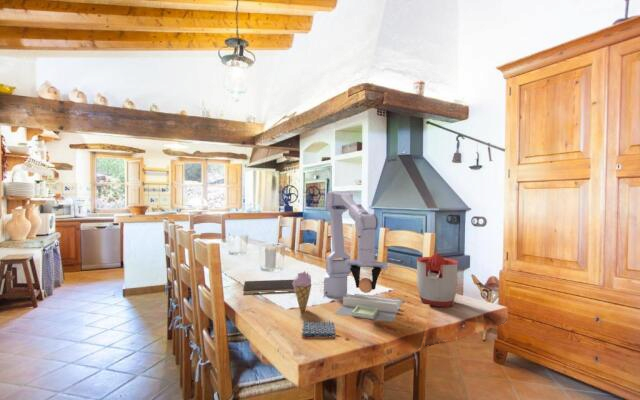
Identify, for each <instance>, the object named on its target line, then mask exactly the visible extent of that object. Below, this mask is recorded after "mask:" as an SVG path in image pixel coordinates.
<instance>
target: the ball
mask: <svg viewBox="0 0 640 400" xmlns="http://www.w3.org/2000/svg"><path fill="white" fill-rule="evenodd" d="M359 290H360V292H362V293H365V294H368V293H370V292H371V291H372V280H371V279H370V278H369V277H368V278H367V277H363V278H360V282H359Z"/></svg>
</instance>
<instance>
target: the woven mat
mask: <svg viewBox="0 0 640 400" xmlns="http://www.w3.org/2000/svg"><path fill="white" fill-rule="evenodd" d="M301 330H302V332H301V333H300V334H301V336H300V338H302V339H336V338H337V335H336V327H335V322H333V321H330V320H328V321H325V320H324V321H315V320H313V321H310V320H309V321H306V320H304V321H303V322H302V328H301ZM304 337H305V338H304Z"/></svg>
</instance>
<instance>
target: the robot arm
mask: <svg viewBox="0 0 640 400" xmlns="http://www.w3.org/2000/svg"><path fill="white" fill-rule="evenodd" d="M353 197H354V196H353V193H352V192H351V191H349V190H348V191H344V190H343V191H339V190H336V191H335V190H329V191H328V192H327V193H326V198H325V199H326V201H325V202H326V212H329V216H330V230H331V233H330V234H331V246H332V252H331V253H329V254H328V255H327V256H326V259H325V261H326V262H325V272H326V273H327V274H326V275H325V276H324V279H323V296H322V298H323V299H324V298H326V297H328V296H329V297H334V298H343V297H346V294H348V277H349V276H350V274H351V273H352V276H353V279H354V282H355V287H356V288H357V289H358V288H359V282H360V280H361V278H360V277H361V275H360V274H361V267H363V268H370V269H371V268H372V269H371V277H372V280H371V281H372V290H373V291H374V290H375V289H376V286H377V283H378V282H377V281H378V279H379V275H380V273H381V272H382V269H383V270H387V269H388V262H383V261H376V260H375V244H376V243H375V231H377V230H378V226H379V218H378V217H377V215H376V213H369V212H368V211H367V210H366V209H365V208H364V207H363V205H362V204H361V203H356V202H355V200H354V198H353ZM347 211H348V215H349V217H350V218H351V219H352V220H353V221H354V226H355V229H356V231H355V232H356V236H357V259H351V256H350V255H349V254H348V253H346V252H345V242H344V240H345V239H344V227H343V226H344V225H343V213H345V212H347ZM372 290H371V291H372Z"/></svg>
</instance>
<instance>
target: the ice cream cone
mask: <svg viewBox="0 0 640 400" xmlns="http://www.w3.org/2000/svg"><path fill="white" fill-rule="evenodd" d="M311 278H312V276H311V274H309V272H308V271H307V272H306V271H305V270H304V271H303V272H299V273H297V276H295V277H294V278H293V280H294V281H293V283H292V284H293V287H294V290H295V292H294V293H295V296H296V299H297V303H298V308H299V311H300V313H301V314H304V313H305V312H306V310H307V305H308V303H309V302H308V301H309V298H310V293H311V289H312V284H311V283H312V280H311Z"/></svg>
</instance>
